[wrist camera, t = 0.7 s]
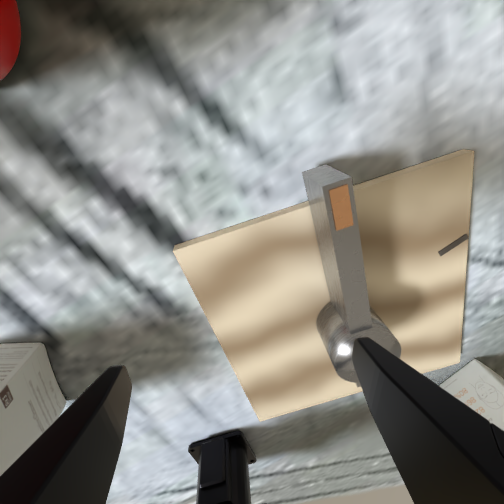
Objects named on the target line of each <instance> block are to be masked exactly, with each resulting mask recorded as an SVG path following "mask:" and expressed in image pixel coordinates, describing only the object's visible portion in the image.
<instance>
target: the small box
mask: <svg viewBox="0 0 504 504" xmlns="http://www.w3.org/2000/svg"><path fill="white" fill-rule="evenodd" d="M439 386H440V387H441V388H443V389H444V390H446V391H447V392H448V393H450V394H451V395H453V396H454V397H456V398H457V399H458V400H460V401H461V402H463V403H464V404H466V405H467V406H469V407H470V408H471V409H473V410H474V411H476V412H477V413H479V414H480V415H481V416H483V417H484V418H486V419H487V420H488V421H489V422H490V423H493V424H495V425H496V426H497V427H499V428H500V429H502V430H503V431H504V379H503V378H502V377H501V376H500V375H498V374H497V373H496V372H494V371H493V370H491V369H490V368H489V367H487V366H486V365H484V364H483V363H481V362H480V361H478V360H477V359H473V360H472V361H471V362H469V363H468V364H467V365H465V366H464V367H463V368H461V369H460V370H459V371H457V372H456V373H455V374H453V375H452V376H451V377H450V378H448V379H447V380H446V381H444V382H443V383H442V384H440V385H439Z"/></svg>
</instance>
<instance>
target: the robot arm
mask: <svg viewBox="0 0 504 504" xmlns="http://www.w3.org/2000/svg"><path fill="white" fill-rule="evenodd" d="M352 362H353V365H354V368H355V371H356V374H357V376H358V379H359V382H360V385H361V388H362V390H363V393H364V396H365V399H366V401H367V404H368V407H369V409H370V412H371V414H372V416H373V418H374V421H375V423H376V425H377V427H378V429H379V431H380V433H381V435H382V437H383V439H384V441H385V444H386V446H387V448H388V450H389V452H390V454H391V456H392V458H393V460H394V462H395V464H396V466H397V469H398V471H399V473H400V475H401V477H402V479H403V481H404V483H405V485H406V487H407V489H408V491H409V494H410V496H411V498H412V500H413V502H414V504H504V431H503V430H502V429H500V428H499V427H497V426H496V425H495V424H493V423H490V422H489V421H488V420H487V419H486V418H484V417H483V416H481V415H480V414H479V413H477V412H476V411H474V410H473V409H471V408H470V407H469V406H467V405H466V404H464V403H463V402H461V401H460V400H458V399H457V398H456V397H454V396H453V395H451V394H450V393H448V392H447V391H446V390H444V389H443V388H441V387H440V386H438V385H437V384H435V383H434V382H433V381H431V380H430V379H428V378H427V377H425V376H424V375H423V374H421V373H420V372H418V371H417V370H415V369H414V368H412V367H411V366H410V365H408V364H407V363H405V362H404V361H402V360H401V359H400V358H398V357H397V356H395V355H394V354H392V353H391V352H389V351H388V350H387V349H385V348H384V347H382V346H381V345H379V344H378V343H377V342H375V341H374V340H372V339H371V338H369V337H361V338H356V339H355V341H354V346H353V352H352ZM131 391H132V384H131V380H130V377H129V375H128V372H127V369H126V367H125V366H124V365H116V366H110V367H109V368H107V369H106V370H105V371H104V372H103V373H102V374H101V375H100V376H99V377H98V378H97V379H96V380H95V381H94V382H93V383H92V384H91V385H90V386H89V387H88V388H87V389H86V390H85V391H84V392H83V393H82V394H81V395H80V396H79V397H78V398H77V399H76V400H75V401H74V402H73V403H72V404H71V405H70V406H69V407H68V409H67V410H66V411H65V412H64V413H63V414H62V415H61V416H60V417H59V418H58V419H57V420H56V421H55V422H54V423H53V424H52V425H51V426H50V427H49V428H48V429H47V430H46V431H45V432H44V433H43V434H42V435H41V436H40V437H39V438H38V439H37V440H36V441H35V442H34V443H33V444H32V445H31V446H30V447H29V448H28V449H27V450H26V451H25V452H24V453H23V454H22V455H21V456H20V457H19V458H18V459H17V460H16V461H15V462H14V463H13V464H12V465H11V466H10V467H9V468H8V469H7V470H6V471H5V472H4V473H3V474H2V475H1V476H0V504H106V500H107V497H108V493H109V490H110V486H111V482H112V479H113V475H114V472H115V468H116V465H117V461H118V458H119V454H120V450H121V446H122V442H123V437H124V431H125V425H126V420H127V414H128V408H129V403H130V397H131ZM188 452H189V453H190V454H191V455H192V457H193V458H194V459H195V460H196V462H197V463H198V464H199V469H198V485H197V500H196V504H251V495H250V482H249V469H248V464H252V463H255V462H256V456H255V454H254V452H253V451H252V449H251V447H250V446H249V444H248V442H247V440H246V439H245V437H244V435H243V434H242V432H241V431H235V432H232V433H229V434H225V435H222V436H219V437H215V438H212V439H208V440H205V441H202V442H198V443H195V444H191V445H189V448H188ZM264 504H266V503H264Z"/></svg>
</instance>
